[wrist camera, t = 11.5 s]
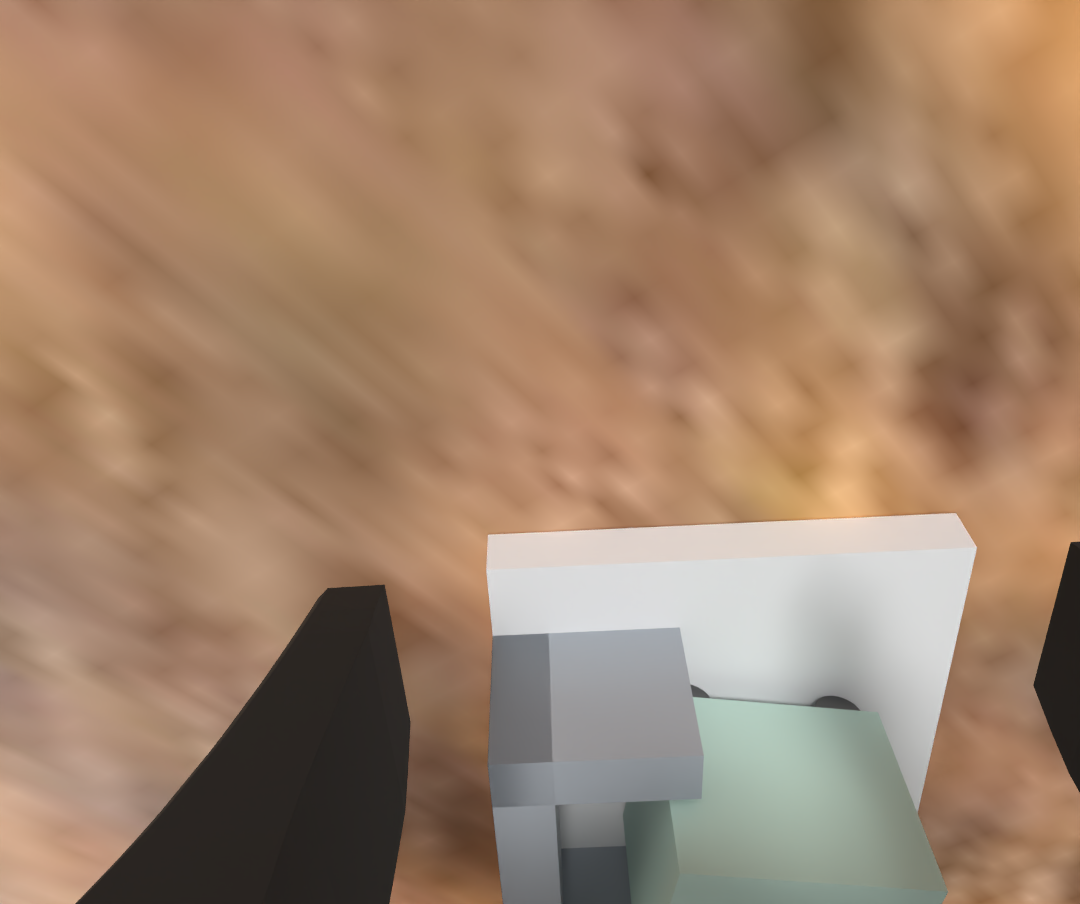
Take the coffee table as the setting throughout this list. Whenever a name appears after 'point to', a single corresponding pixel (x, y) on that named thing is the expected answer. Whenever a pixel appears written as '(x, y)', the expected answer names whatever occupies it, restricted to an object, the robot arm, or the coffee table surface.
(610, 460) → the coffee table surface
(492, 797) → the dock
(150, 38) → the coffee table surface
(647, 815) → the pale green block
